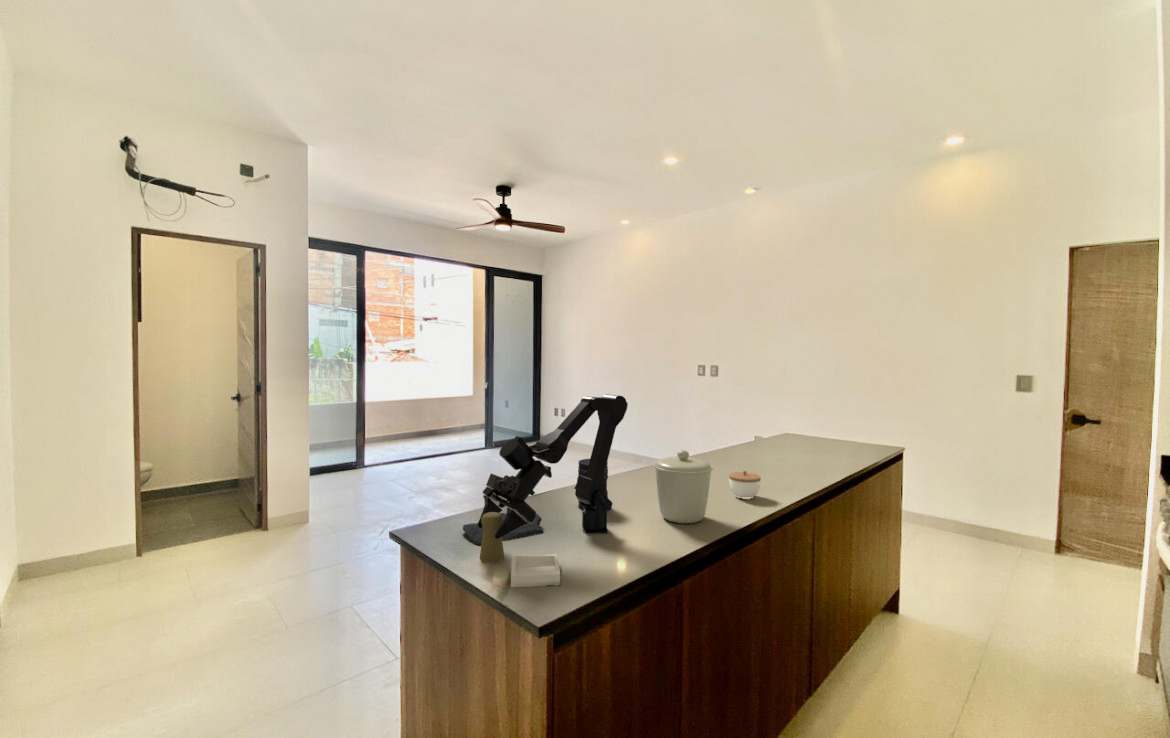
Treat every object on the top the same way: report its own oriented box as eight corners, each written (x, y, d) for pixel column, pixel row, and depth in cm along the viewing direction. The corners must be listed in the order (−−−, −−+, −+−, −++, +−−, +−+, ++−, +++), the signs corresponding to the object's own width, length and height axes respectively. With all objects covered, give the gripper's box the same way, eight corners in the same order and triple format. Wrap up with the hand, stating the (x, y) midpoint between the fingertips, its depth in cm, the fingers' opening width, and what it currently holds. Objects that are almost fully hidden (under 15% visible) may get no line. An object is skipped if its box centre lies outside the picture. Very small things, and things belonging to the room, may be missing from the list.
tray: (557, 564, 118) (557, 554, 118) (560, 585, 108) (560, 573, 108) (512, 566, 117) (512, 556, 117) (510, 587, 106) (510, 576, 106)
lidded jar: (739, 491, 183) (740, 466, 183) (766, 497, 175) (766, 471, 174) (722, 496, 176) (722, 470, 176) (749, 503, 168) (749, 476, 167)
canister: (643, 512, 158) (643, 446, 157) (693, 507, 164) (693, 443, 163) (669, 531, 141) (670, 458, 140) (724, 525, 146) (725, 454, 146)
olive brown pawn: (481, 552, 125) (481, 509, 124) (505, 552, 125) (505, 509, 125) (478, 563, 119) (478, 517, 118) (503, 562, 119) (503, 517, 119)
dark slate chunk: (456, 531, 141) (456, 515, 141) (526, 518, 153) (526, 502, 153) (476, 549, 128) (476, 531, 128) (550, 533, 140) (550, 516, 140)
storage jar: (572, 508, 162) (572, 462, 161) (587, 500, 170) (588, 457, 169) (598, 513, 156) (598, 466, 156) (613, 505, 165) (613, 460, 164)
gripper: (489, 455, 131) (449, 504, 125) (525, 468, 116) (482, 524, 110) (515, 480, 136) (478, 528, 130) (553, 496, 121) (513, 551, 115)
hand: (486, 532), depth 121 cm, fingers open, 9 cm apart
